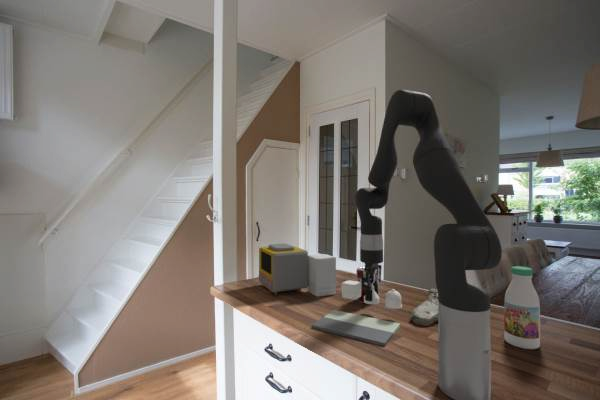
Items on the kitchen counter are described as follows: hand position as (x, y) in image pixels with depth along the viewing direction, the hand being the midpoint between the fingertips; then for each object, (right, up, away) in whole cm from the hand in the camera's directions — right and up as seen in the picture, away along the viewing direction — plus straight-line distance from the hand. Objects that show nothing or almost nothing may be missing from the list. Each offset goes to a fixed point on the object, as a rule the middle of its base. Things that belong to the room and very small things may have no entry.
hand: (371, 298), depth 104 cm
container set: (0, -1, 0) cm, 1 cm away
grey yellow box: (-32, -5, +29) cm, 43 cm away
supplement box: (-15, -5, +23) cm, 28 cm away
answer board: (-7, -5, -11) cm, 14 cm away
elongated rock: (+23, -6, +4) cm, 24 cm away
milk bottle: (+35, -5, -22) cm, 41 cm away
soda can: (+1, -5, +13) cm, 14 cm away
